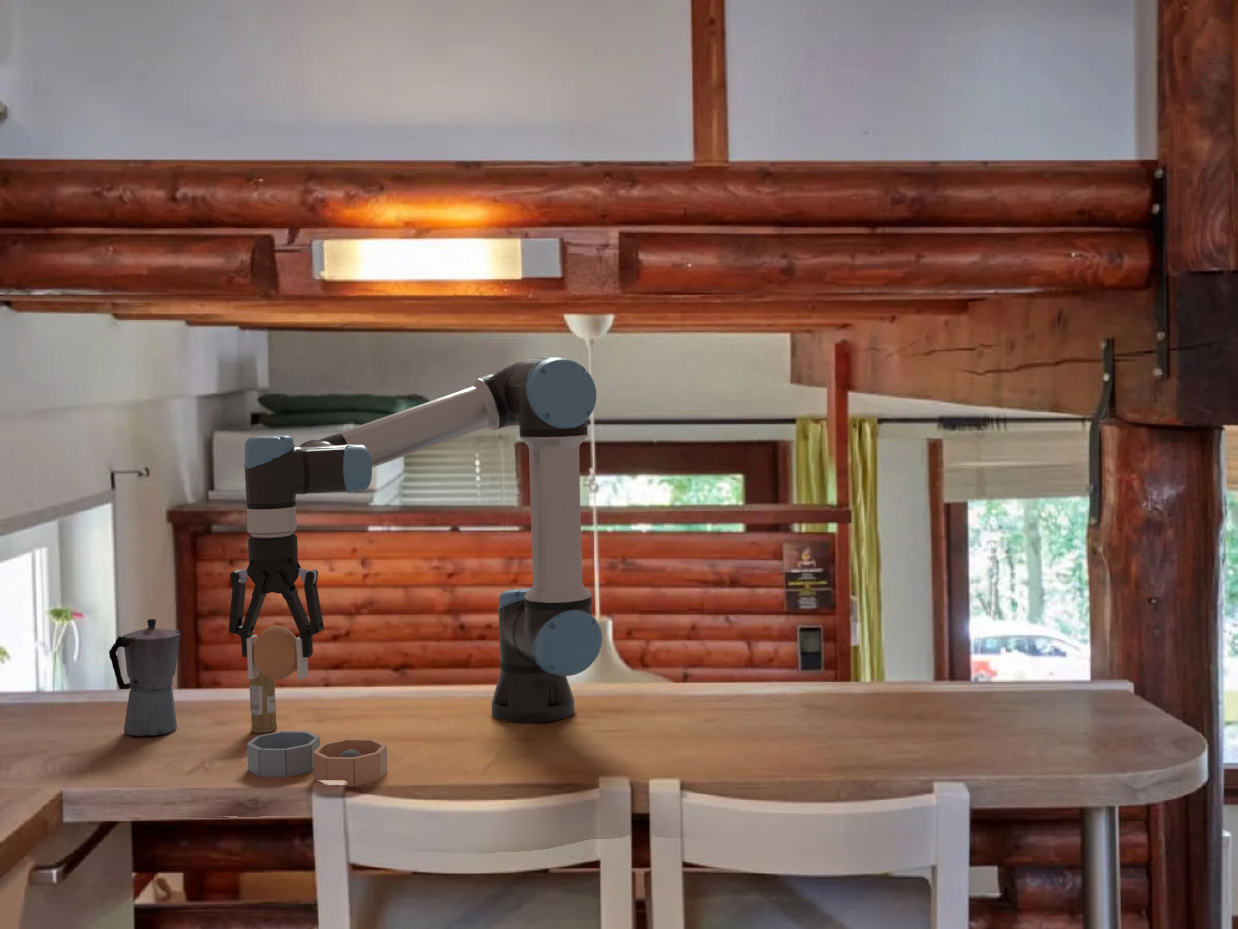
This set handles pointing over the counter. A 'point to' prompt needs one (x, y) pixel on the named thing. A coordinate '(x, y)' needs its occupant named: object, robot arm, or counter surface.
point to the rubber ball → (350, 753)
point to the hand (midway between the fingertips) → (278, 677)
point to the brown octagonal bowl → (351, 761)
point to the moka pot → (148, 679)
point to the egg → (276, 652)
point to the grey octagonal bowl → (282, 753)
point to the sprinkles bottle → (262, 704)
